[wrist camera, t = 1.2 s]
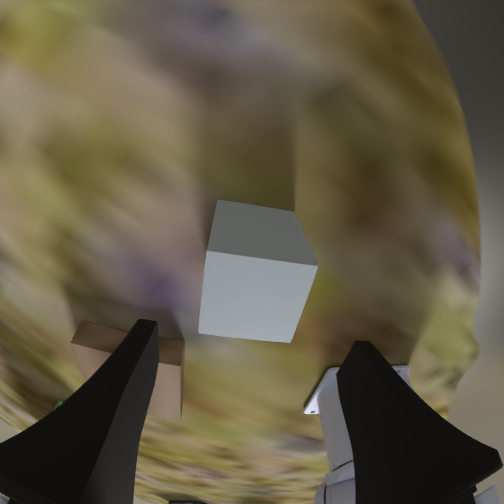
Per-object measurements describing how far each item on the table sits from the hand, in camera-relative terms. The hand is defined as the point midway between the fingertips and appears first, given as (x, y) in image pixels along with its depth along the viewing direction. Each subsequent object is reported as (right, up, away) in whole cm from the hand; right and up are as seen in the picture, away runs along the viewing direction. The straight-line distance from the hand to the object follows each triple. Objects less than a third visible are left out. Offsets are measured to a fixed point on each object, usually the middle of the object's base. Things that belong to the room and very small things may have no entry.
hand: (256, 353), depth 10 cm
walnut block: (-11, -6, +14) cm, 19 cm away
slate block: (0, +4, +8) cm, 9 cm away
